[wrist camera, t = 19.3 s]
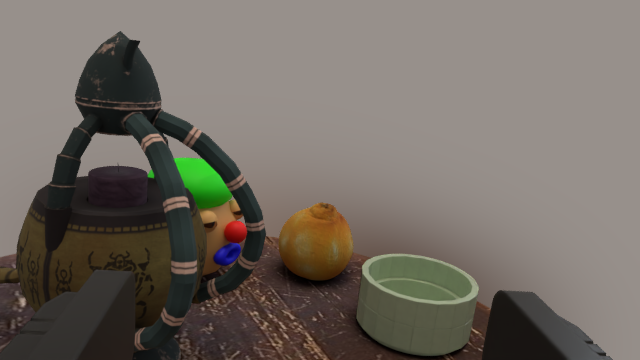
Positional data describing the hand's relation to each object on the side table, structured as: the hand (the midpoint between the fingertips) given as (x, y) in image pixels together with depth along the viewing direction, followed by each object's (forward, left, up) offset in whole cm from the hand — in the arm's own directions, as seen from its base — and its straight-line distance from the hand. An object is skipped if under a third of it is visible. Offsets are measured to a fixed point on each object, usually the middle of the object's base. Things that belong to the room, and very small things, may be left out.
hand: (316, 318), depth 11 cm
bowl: (+2, -34, -18) cm, 38 cm away
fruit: (+14, -40, -18) cm, 46 cm away
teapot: (+24, -17, -18) cm, 34 cm away
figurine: (+24, -32, -18) cm, 43 cm away
